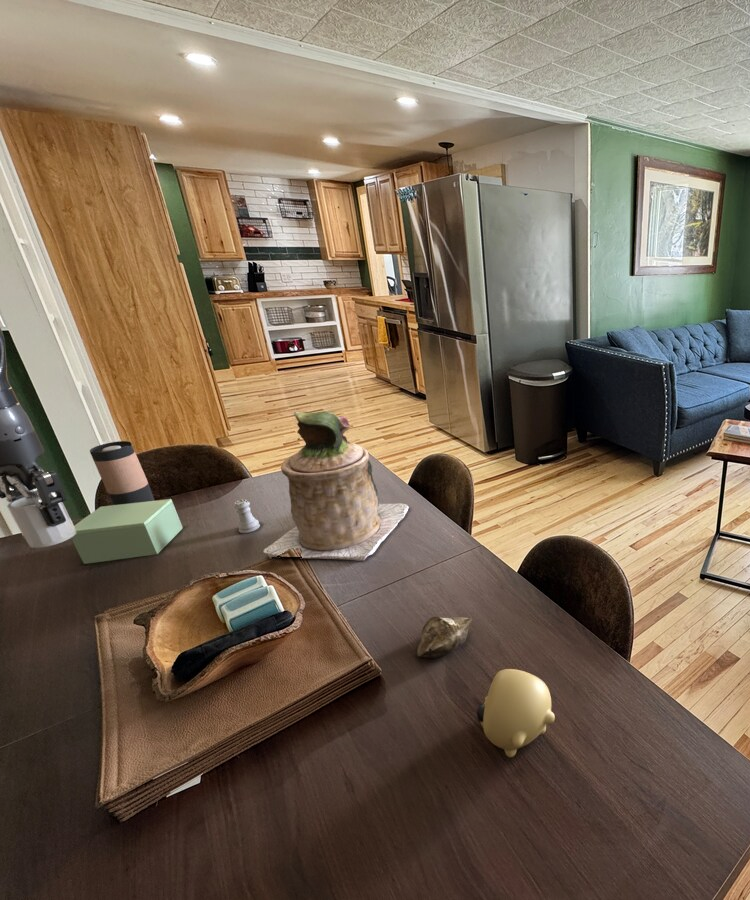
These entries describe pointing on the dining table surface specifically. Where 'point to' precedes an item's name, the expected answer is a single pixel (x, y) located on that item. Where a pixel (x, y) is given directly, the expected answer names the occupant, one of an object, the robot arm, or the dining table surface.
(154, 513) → the container lid
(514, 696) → the toy pig
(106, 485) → the travel mug
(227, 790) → the dining table surface
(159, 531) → the container
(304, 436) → the cookie jar
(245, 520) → the rook chess piece
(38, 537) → the cup
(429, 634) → the fossilized seashell
